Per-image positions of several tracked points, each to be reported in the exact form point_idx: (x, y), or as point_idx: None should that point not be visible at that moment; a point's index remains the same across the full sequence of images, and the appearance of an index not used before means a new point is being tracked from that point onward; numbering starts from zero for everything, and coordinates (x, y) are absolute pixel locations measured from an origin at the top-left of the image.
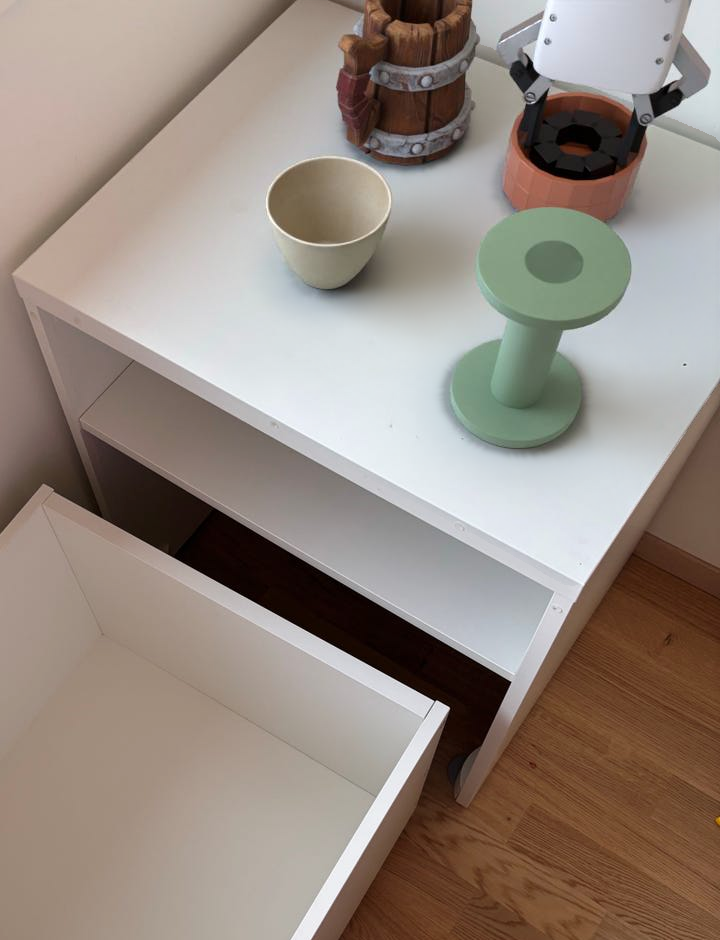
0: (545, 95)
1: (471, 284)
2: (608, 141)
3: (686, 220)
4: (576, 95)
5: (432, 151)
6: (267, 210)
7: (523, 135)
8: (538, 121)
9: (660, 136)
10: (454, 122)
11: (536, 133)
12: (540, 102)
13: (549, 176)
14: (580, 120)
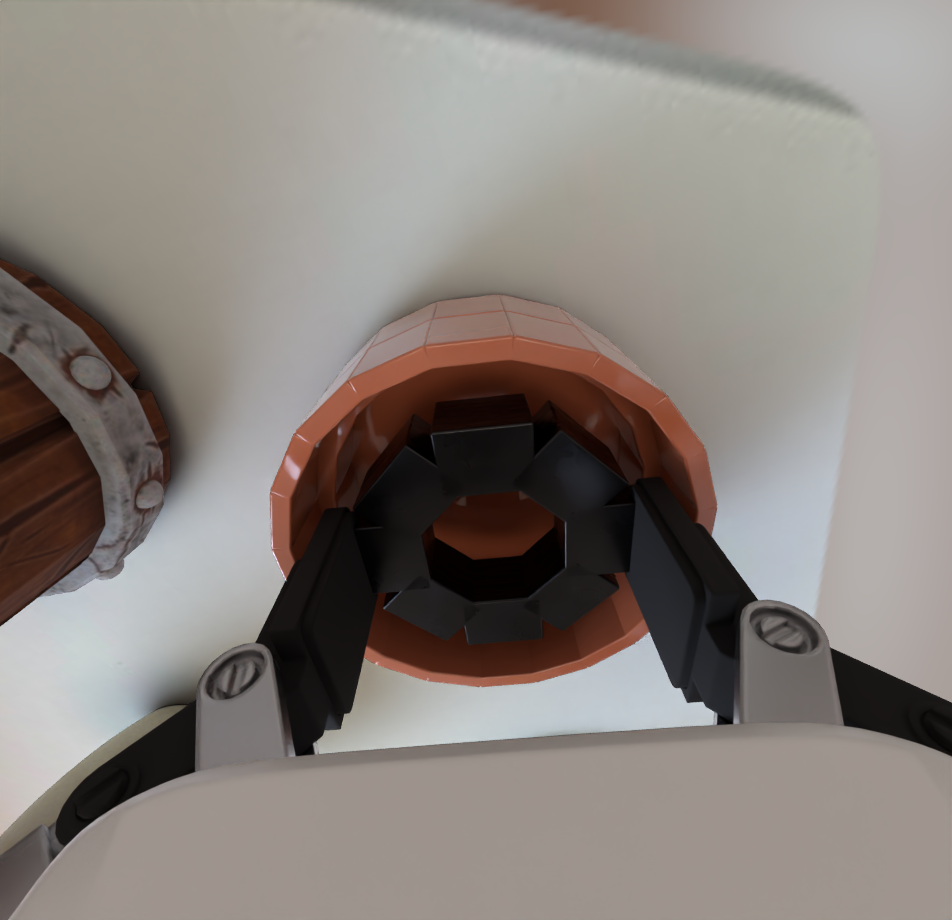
0: (324, 672)
1: (415, 691)
2: (588, 532)
3: (787, 451)
4: (408, 375)
5: (143, 538)
6: None
7: (320, 469)
8: (359, 671)
9: (720, 137)
10: (113, 502)
11: (367, 595)
12: (329, 712)
13: (467, 680)
14: (471, 477)
